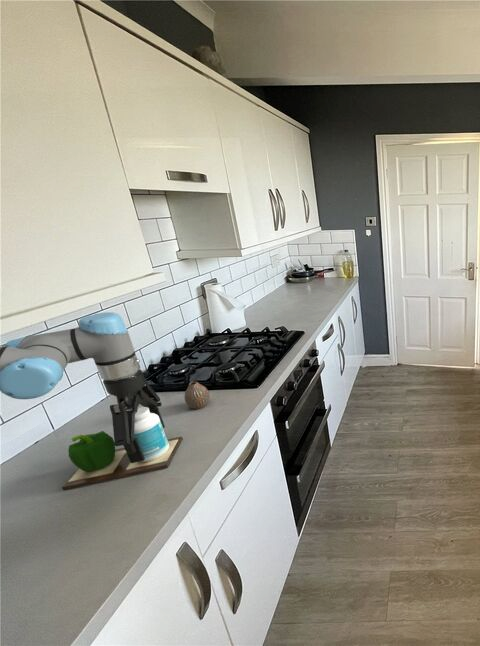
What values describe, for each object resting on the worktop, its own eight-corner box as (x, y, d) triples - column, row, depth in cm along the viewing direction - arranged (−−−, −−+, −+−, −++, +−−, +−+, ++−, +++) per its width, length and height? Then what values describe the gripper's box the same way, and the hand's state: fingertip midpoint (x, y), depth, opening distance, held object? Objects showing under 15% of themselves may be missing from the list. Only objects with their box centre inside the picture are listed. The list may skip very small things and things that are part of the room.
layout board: (63, 490, 85) (61, 486, 84) (91, 457, 95) (89, 453, 95) (167, 467, 91) (166, 464, 91) (182, 439, 102) (181, 435, 101)
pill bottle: (176, 448, 96) (161, 407, 91) (146, 466, 90) (128, 423, 85) (160, 441, 99) (145, 401, 94) (130, 458, 93) (112, 416, 88)
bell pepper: (125, 449, 96) (112, 419, 93) (114, 469, 89) (100, 438, 86) (86, 459, 93) (71, 428, 90) (72, 480, 86) (55, 448, 82)
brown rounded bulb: (214, 404, 118) (208, 382, 115) (191, 414, 113) (184, 391, 110) (207, 397, 122) (201, 375, 119) (185, 406, 117) (177, 384, 114)
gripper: (115, 397, 76) (146, 473, 83) (159, 351, 98) (180, 414, 105) (72, 404, 74) (108, 481, 81) (127, 355, 96) (151, 419, 103)
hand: (149, 443), depth 93 cm, fingers open, 13 cm apart
